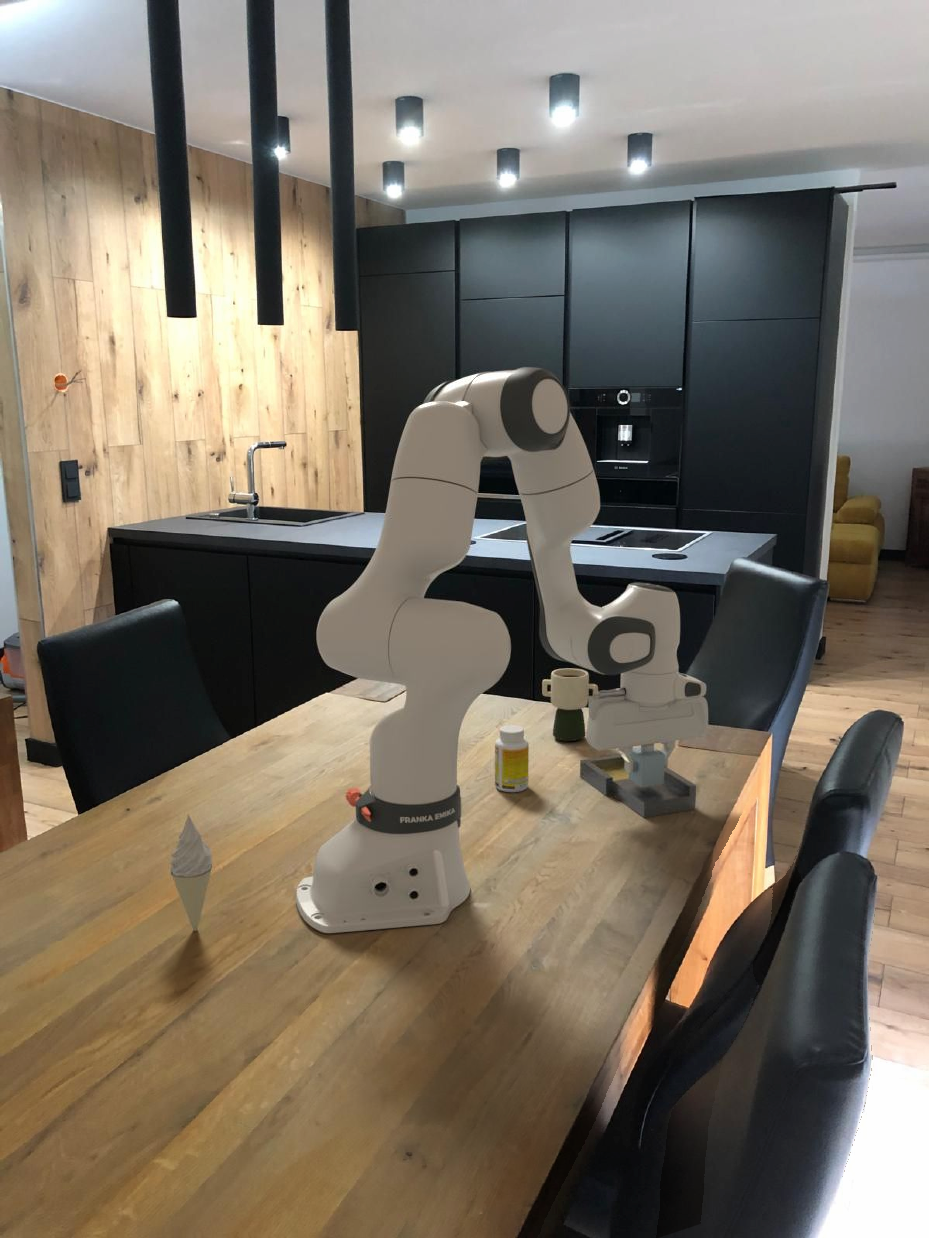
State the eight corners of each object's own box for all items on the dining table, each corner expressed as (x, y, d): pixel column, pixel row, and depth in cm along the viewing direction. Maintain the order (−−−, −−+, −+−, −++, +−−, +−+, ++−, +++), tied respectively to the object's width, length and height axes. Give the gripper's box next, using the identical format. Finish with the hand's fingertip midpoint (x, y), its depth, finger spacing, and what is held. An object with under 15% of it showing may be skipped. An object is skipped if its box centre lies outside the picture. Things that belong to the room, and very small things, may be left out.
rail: (636, 818, 153) (637, 794, 152) (580, 776, 170) (580, 754, 170) (695, 809, 156) (696, 785, 156) (633, 768, 174) (634, 747, 173)
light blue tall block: (641, 787, 156) (642, 747, 155) (628, 778, 160) (630, 739, 159) (663, 783, 158) (665, 744, 156) (650, 775, 161) (652, 737, 160)
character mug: (601, 736, 191) (603, 670, 189) (591, 747, 185) (593, 680, 182) (547, 729, 195) (548, 665, 193) (535, 740, 189) (536, 674, 186)
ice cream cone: (196, 944, 118) (188, 825, 114) (164, 934, 120) (156, 817, 117) (225, 925, 122) (218, 810, 119) (194, 915, 124) (187, 802, 121)
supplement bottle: (535, 788, 166) (535, 729, 163) (510, 796, 162) (510, 736, 160) (512, 778, 170) (513, 721, 168) (487, 786, 166) (487, 728, 164)
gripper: (598, 697, 149) (596, 784, 152) (715, 683, 156) (711, 767, 159) (580, 686, 155) (578, 770, 158) (693, 674, 162) (689, 754, 165)
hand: (646, 769), depth 159 cm, fingers closed on light blue tall block, 4 cm apart
